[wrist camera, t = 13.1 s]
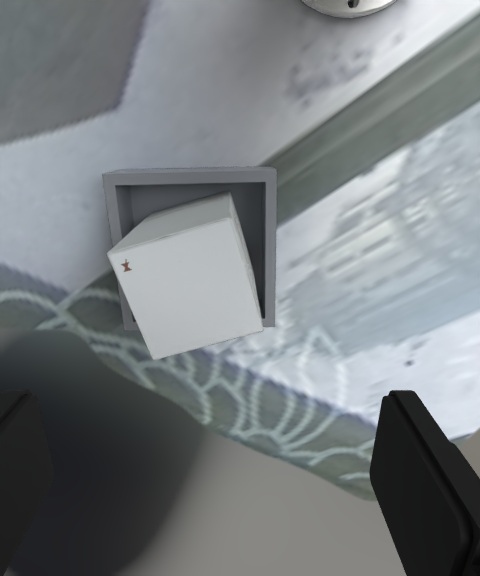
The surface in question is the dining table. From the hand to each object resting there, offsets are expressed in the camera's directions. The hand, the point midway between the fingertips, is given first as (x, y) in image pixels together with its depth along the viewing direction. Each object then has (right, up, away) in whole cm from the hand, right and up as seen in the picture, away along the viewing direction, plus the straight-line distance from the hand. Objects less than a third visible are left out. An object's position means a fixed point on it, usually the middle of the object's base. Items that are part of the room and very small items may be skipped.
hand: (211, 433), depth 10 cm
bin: (-3, +8, +24) cm, 26 cm away
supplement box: (-2, +8, +23) cm, 25 cm away
